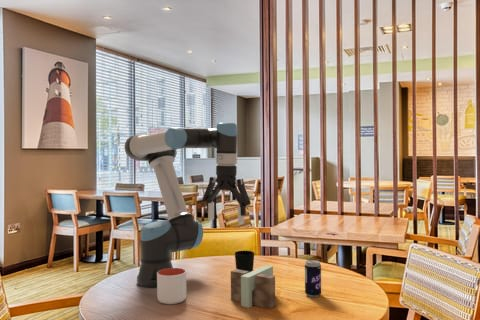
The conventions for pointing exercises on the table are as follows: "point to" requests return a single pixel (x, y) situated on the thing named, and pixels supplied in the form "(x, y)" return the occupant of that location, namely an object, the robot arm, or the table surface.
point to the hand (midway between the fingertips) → (225, 222)
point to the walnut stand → (261, 294)
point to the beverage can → (313, 278)
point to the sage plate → (252, 284)
